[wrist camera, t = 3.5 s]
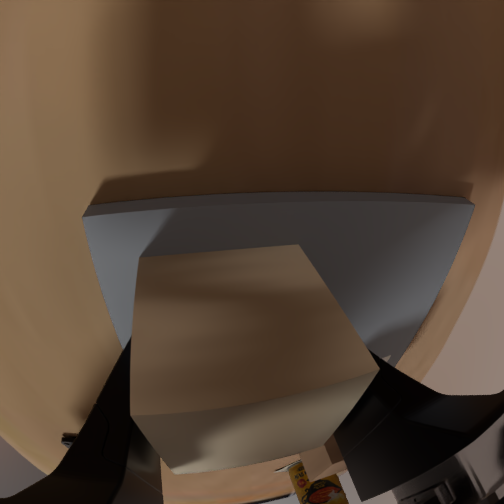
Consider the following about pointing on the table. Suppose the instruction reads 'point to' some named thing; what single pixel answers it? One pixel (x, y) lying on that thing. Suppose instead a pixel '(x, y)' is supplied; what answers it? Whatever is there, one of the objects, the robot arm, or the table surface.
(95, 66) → the table surface
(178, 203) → the grey base plate
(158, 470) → the robot arm
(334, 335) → the birch block
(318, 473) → the walnut block
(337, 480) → the condiment
